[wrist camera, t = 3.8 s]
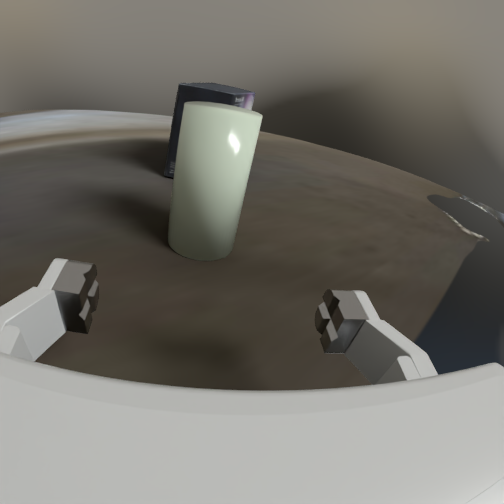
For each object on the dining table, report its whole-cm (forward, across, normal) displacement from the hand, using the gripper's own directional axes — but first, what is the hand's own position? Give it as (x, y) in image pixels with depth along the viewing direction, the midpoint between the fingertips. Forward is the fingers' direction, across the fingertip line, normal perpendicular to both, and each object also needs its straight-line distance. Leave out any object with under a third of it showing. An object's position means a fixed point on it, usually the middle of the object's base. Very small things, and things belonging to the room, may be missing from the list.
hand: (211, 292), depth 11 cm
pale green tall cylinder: (+12, 0, +6) cm, 13 cm away
